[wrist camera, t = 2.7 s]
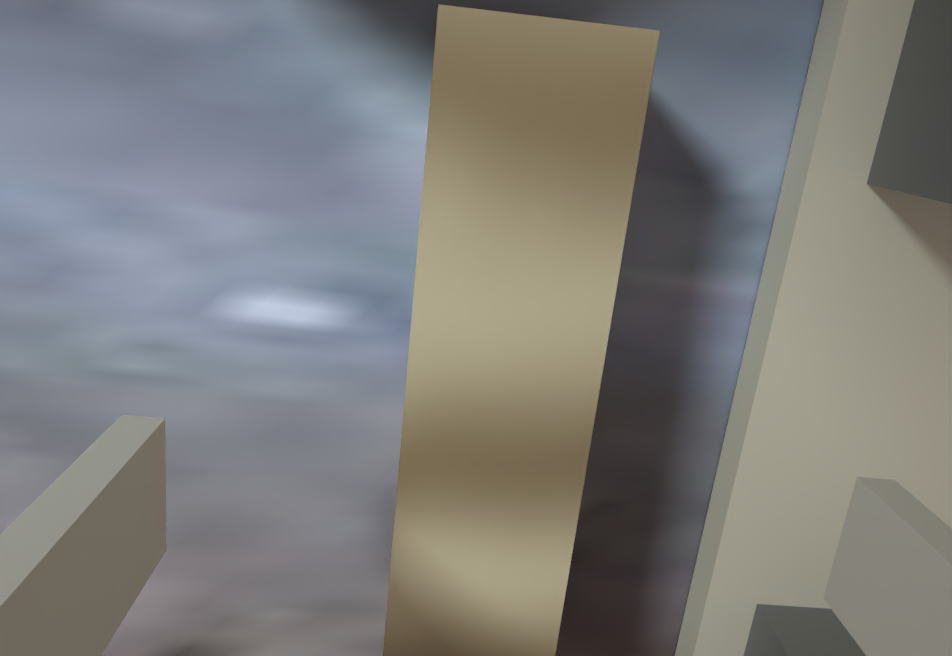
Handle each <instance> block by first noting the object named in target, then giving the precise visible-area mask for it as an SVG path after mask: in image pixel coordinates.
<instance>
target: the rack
mask: <svg viewBox="0 0 952 656" xmlns="http://www.w3.org/2000/svg"><path fill="white" fill-rule="evenodd" d="M857 477H866V478H877V479H889V480H896V481H897V482H898V483H899V484H900V485H901V486H903V487H904V488H905V489H906V490H907V491H908V492H910V493H911V494H912V495H913V496H914V497H915V498H917V499H918V500H919V501H920V502H921V503H922V504H924V505H925V506H926V507H927V508H928V509H929V510H931V511H932V512H933V513H934V514H935V515H936V516H938V517H939V518H940V519H941V520H942V521H943V522H945V523H946V524H947V525H948V526H949V527H950V528H952V0H824V3H823V8H822V12H821V16H820V21H819V25H818V30H817V34H816V38H815V43H814V47H813V51H812V56H811V60H810V65H809V69H808V73H807V78H806V82H805V87H804V91H803V95H802V100H801V104H800V108H799V113H798V117H797V122H796V126H795V130H794V135H793V139H792V144H791V148H790V152H789V157H788V161H787V165H786V170H785V174H784V179H783V183H782V187H781V192H780V196H779V201H778V205H777V209H776V214H775V218H774V222H773V227H772V231H771V236H770V240H769V244H768V249H767V253H766V258H765V262H764V266H763V271H762V275H761V279H760V284H759V288H758V293H757V297H756V301H755V306H754V310H753V314H752V319H751V323H750V328H749V332H748V336H747V341H746V345H745V350H744V354H743V358H742V363H741V367H740V371H739V376H738V380H737V385H736V389H735V393H734V398H733V402H732V407H731V411H730V415H729V420H728V424H727V428H726V433H725V437H724V442H723V446H722V450H721V455H720V459H719V464H718V468H717V472H716V477H715V481H714V485H713V490H712V494H711V499H710V503H709V507H708V512H707V516H706V520H705V525H704V529H703V534H702V538H701V542H700V547H699V551H698V556H697V560H696V564H695V569H694V573H693V577H692V582H691V586H690V591H689V595H688V599H687V604H686V608H685V613H684V617H683V621H682V626H681V630H680V634H679V639H678V643H677V648H676V652H675V656H866V655H865V653H864V652H863V651H862V649H861V648H860V647H859V645H858V644H857V643H856V641H855V640H854V639H853V637H852V636H851V635H850V633H849V632H848V631H847V629H846V628H845V627H844V625H843V624H842V623H841V621H840V620H839V619H838V617H837V616H836V615H835V613H834V612H833V611H832V609H831V608H830V607H829V605H828V604H827V603H826V601H825V600H824V599H823V597H824V594H825V590H826V586H827V583H828V579H829V576H830V572H831V568H832V565H833V561H834V558H835V554H836V550H837V547H838V543H839V540H840V536H841V532H842V529H843V525H844V522H845V518H846V514H847V511H848V507H849V504H850V500H851V497H852V493H853V489H854V486H855V482H856V479H857Z"/></svg>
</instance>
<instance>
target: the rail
mask: <svg viewBox="0 0 952 656" xmlns="http://www.w3.org/2000/svg"><path fill="white" fill-rule="evenodd" d="M659 33H660V31H659V30H651V29H642V28H634V27H625V26H617V25H609V24H600V23H592V22H583V21H575V20H567V19H558V18H550V17H541V16H533V15H525V14H516V13H508V12H499V11H491V10H483V9H474V8H466V7H457V6H449V5H441V4H438V14H437V26H436V38H435V50H434V61H433V73H432V85H431V97H430V108H429V120H428V132H427V144H426V155H425V167H424V179H423V191H422V202H421V214H420V226H419V238H418V249H417V261H416V273H415V285H414V296H413V308H412V320H411V332H410V343H409V355H408V367H407V379H406V390H405V402H404V414H403V426H402V437H401V449H400V461H399V473H398V484H397V496H396V508H395V520H394V531H393V543H392V555H391V567H390V578H389V590H388V602H387V614H386V625H385V637H384V649H383V656H555V654H556V648H557V642H558V636H559V630H560V624H561V618H562V612H563V606H564V600H565V594H566V588H567V582H568V576H569V570H570V564H571V558H572V552H573V546H574V540H575V534H576V528H577V522H578V516H579V510H580V504H581V498H582V493H583V487H584V481H585V475H586V469H587V463H588V457H589V451H590V445H591V439H592V433H593V427H594V421H595V415H596V409H597V403H598V397H599V391H600V385H601V379H602V373H603V367H604V361H605V355H606V349H607V343H608V337H609V331H610V325H611V319H612V313H613V308H614V302H615V296H616V290H617V284H618V278H619V272H620V266H621V260H622V254H623V248H624V242H625V236H626V230H627V224H628V218H629V212H630V206H631V200H632V194H633V188H634V182H635V176H636V170H637V164H638V158H639V152H640V146H641V140H642V134H643V128H644V123H645V117H646V111H647V105H648V99H649V93H650V87H651V81H652V75H653V69H654V63H655V57H656V51H657V45H658V39H659Z"/></svg>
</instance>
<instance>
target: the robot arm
mask: <svg viewBox="0 0 952 656" xmlns="http://www.w3.org/2000/svg"><path fill="white" fill-rule="evenodd" d="M165 551H166V464H165V418H154V417H142V416H130V415H121V416H120V417H119V418H118V419H117V420H116V421H115V422H114V423H113V424H112V425H111V426H110V427H109V428H108V429H107V430H106V431H105V432H104V433H103V434H102V435H101V436H100V437H99V438H98V439H97V440H96V441H95V442H94V443H93V444H92V445H91V446H90V447H89V448H88V449H87V450H86V451H85V452H84V453H83V454H82V455H81V456H80V457H79V458H78V459H77V460H75V461H74V462H73V463H72V464H71V465H70V466H69V467H68V468H67V469H66V470H65V471H64V472H63V473H62V474H61V475H60V476H59V477H58V478H57V479H56V480H55V481H54V482H53V483H52V484H51V485H50V486H49V487H48V488H47V489H46V490H45V491H44V492H43V493H42V494H41V495H40V496H39V497H38V498H37V499H36V500H35V501H34V502H33V503H32V504H31V505H29V506H28V507H27V508H26V509H25V510H24V511H23V512H22V513H21V514H20V515H19V516H18V517H17V518H16V519H15V520H14V521H13V522H12V523H11V524H10V525H9V526H8V527H7V528H6V529H5V530H4V531H3V532H2V533H1V534H0V656H101V654H102V653H103V651H104V649H105V648H106V646H107V645H108V643H109V641H110V640H111V638H112V637H113V635H114V633H115V632H116V630H117V628H118V627H119V625H120V624H121V622H122V620H123V619H124V617H125V616H126V614H127V612H128V611H129V609H130V608H131V606H132V604H133V603H134V601H135V599H136V598H137V596H138V595H139V593H140V591H141V590H142V588H143V587H144V585H145V583H146V582H147V580H148V579H149V577H150V575H151V574H152V572H153V570H154V569H155V567H156V566H157V564H158V562H159V561H160V559H161V558H162V556H163V554H164V553H165ZM823 599H824V600H825V601H826V603H827V604H828V605H829V607H830V608H831V609H832V611H833V612H834V613H835V615H836V616H837V617H838V619H839V620H840V621H841V623H842V624H843V625H844V627H845V628H846V629H847V631H848V632H849V633H850V635H851V636H852V637H853V639H854V640H855V641H856V643H857V644H858V645H859V647H860V648H861V649H862V651H863V652H864V653H865V655H866V656H952V528H950V527H949V526H948V525H947V524H946V523H945V522H943V521H942V520H941V519H940V518H939V517H938V516H936V515H935V514H934V513H933V512H932V511H931V510H929V509H928V508H927V507H926V506H925V505H924V504H922V503H921V502H920V501H919V500H918V499H917V498H915V497H914V496H913V495H912V494H911V493H910V492H908V491H907V490H906V489H905V488H904V487H903V486H901V485H900V484H899V483H898V482H897V481H896V480H889V479H877V478H866V477H857V479H856V482H855V486H854V489H853V493H852V497H851V500H850V504H849V507H848V511H847V514H846V518H845V522H844V525H843V529H842V532H841V536H840V540H839V543H838V547H837V550H836V554H835V558H834V561H833V565H832V568H831V572H830V576H829V579H828V583H827V586H826V590H825V594H824V597H823Z"/></svg>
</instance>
